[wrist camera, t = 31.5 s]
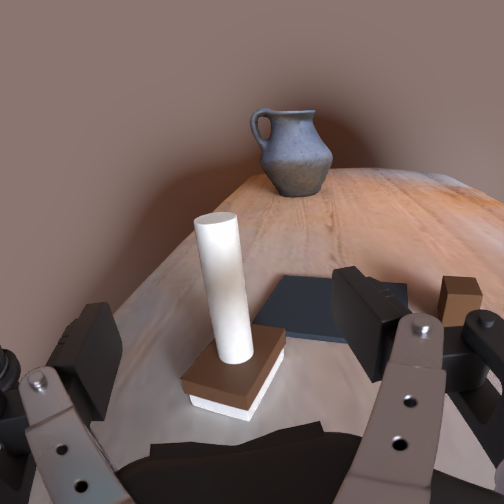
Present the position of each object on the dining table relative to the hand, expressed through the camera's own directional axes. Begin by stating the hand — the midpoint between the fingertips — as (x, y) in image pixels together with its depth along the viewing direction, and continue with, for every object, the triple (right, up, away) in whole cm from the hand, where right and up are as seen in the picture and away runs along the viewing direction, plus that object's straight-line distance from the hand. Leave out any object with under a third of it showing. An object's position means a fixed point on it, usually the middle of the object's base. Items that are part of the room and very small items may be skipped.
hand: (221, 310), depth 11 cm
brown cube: (+23, -5, +18) cm, 30 cm away
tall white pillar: (0, -9, +15) cm, 18 cm away
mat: (+10, -4, +24) cm, 26 cm away
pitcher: (+14, +18, +80) cm, 83 cm away
